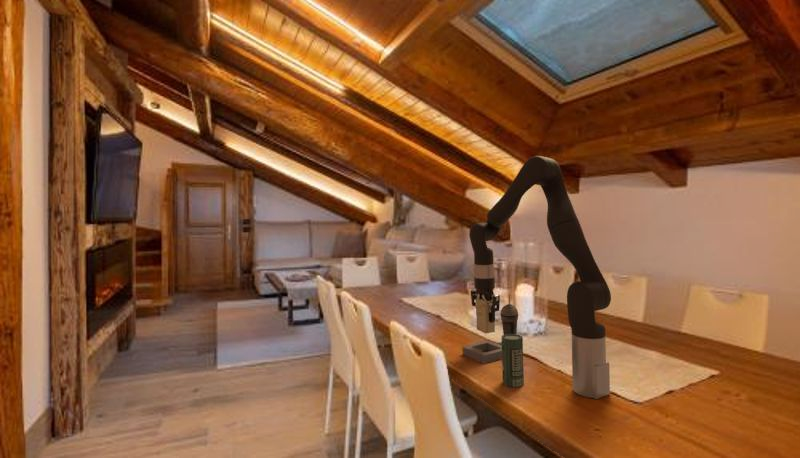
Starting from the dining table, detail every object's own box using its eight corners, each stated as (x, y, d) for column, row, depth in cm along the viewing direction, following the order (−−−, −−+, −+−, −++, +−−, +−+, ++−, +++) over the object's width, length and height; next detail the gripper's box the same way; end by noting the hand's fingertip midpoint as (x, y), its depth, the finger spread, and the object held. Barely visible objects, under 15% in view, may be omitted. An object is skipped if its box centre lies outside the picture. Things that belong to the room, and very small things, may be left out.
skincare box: (476, 329, 161) (475, 298, 160) (485, 327, 163) (484, 296, 162) (486, 334, 155) (485, 301, 154) (496, 332, 157) (495, 299, 156)
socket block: (510, 356, 157) (510, 348, 157) (483, 363, 151) (483, 355, 151) (488, 347, 168) (488, 340, 168) (462, 354, 161) (462, 346, 161)
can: (515, 378, 137) (514, 332, 137) (527, 385, 132) (526, 337, 131) (499, 381, 135) (498, 335, 135) (511, 389, 130) (509, 340, 129)
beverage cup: (517, 339, 177) (516, 291, 176) (520, 345, 169) (519, 295, 168) (499, 339, 177) (498, 292, 176) (502, 345, 170) (500, 296, 169)
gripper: (505, 277, 153) (506, 322, 154) (479, 272, 166) (480, 314, 167) (489, 279, 150) (490, 326, 151) (464, 274, 162) (465, 317, 163)
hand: (485, 319), depth 159 cm, fingers closed on skincare box, 6 cm apart
